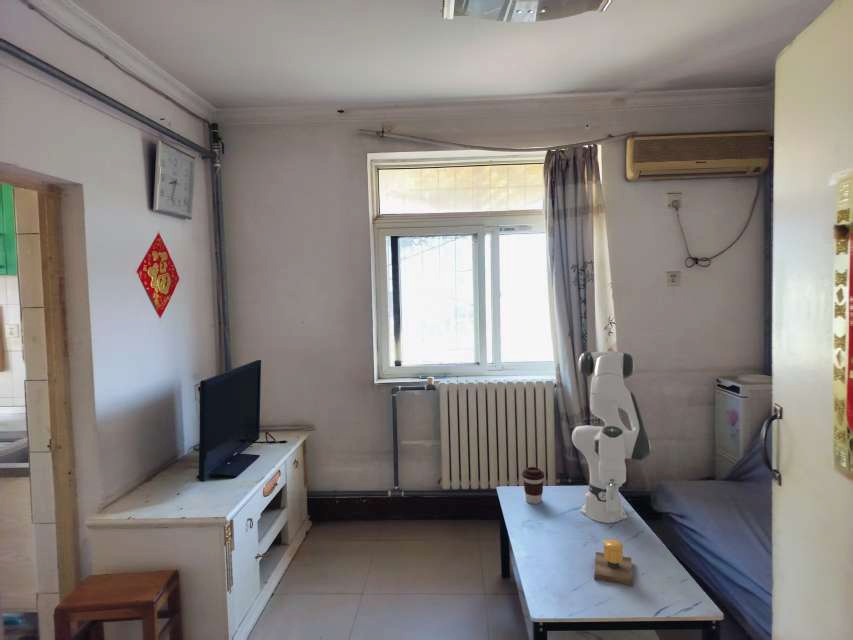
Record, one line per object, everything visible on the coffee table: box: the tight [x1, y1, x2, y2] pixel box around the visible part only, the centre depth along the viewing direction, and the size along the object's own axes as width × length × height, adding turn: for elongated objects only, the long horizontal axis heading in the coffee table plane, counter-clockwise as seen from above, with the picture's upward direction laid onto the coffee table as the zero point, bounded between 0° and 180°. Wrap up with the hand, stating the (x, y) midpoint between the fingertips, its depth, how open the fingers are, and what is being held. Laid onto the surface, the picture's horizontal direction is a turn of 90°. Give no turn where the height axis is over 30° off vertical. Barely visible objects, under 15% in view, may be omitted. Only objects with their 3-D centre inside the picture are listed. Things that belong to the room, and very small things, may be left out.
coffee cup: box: [522, 466, 545, 505], centre depth 222 cm, size 10×10×15 cm
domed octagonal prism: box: [603, 538, 624, 563], centre depth 167 cm, size 6×6×5 cm
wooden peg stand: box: [593, 551, 634, 587], centre depth 167 cm, size 14×12×9 cm
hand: (612, 512), depth 166 cm, fingers open, 8 cm apart
